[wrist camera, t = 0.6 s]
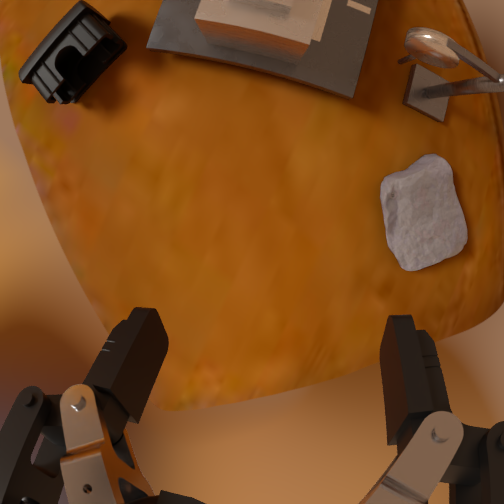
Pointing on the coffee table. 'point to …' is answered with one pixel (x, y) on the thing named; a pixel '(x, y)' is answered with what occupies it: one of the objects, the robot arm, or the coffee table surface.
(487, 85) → the dial indicator stand
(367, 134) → the coffee table surface
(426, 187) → the stone block
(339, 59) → the grey flat square slab
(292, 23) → the cover
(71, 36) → the end cap
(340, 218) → the coffee table surface
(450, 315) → the coffee table surface
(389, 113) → the coffee table surface
